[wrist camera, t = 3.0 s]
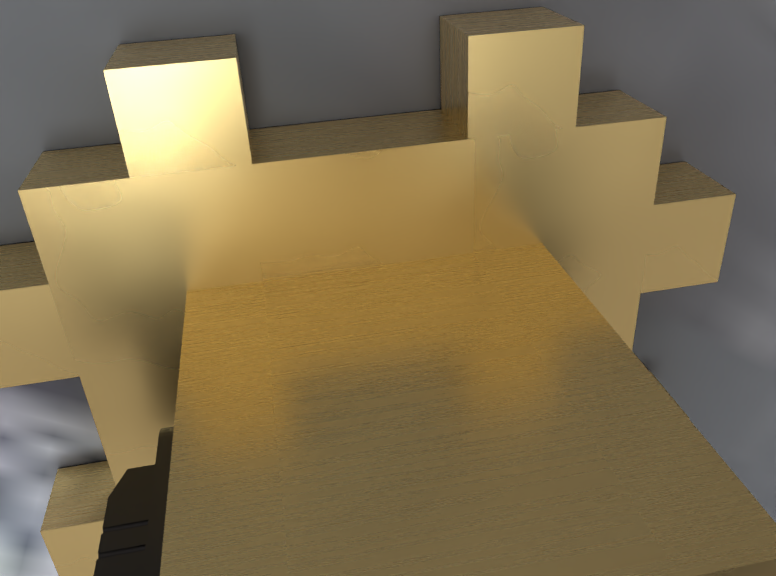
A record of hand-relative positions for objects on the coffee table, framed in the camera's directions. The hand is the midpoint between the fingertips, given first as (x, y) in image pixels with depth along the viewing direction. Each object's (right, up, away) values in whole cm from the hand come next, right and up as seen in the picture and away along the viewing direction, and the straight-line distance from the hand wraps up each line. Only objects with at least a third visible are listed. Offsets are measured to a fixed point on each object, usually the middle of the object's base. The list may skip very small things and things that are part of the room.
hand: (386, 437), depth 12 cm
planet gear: (0, +1, +2) cm, 2 cm away
